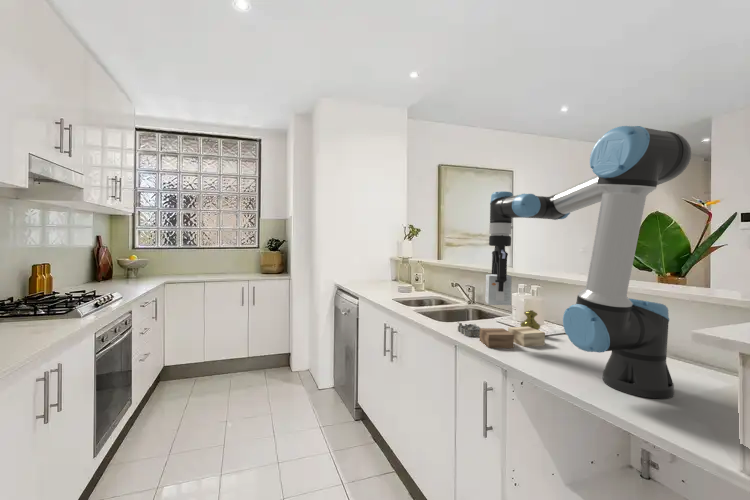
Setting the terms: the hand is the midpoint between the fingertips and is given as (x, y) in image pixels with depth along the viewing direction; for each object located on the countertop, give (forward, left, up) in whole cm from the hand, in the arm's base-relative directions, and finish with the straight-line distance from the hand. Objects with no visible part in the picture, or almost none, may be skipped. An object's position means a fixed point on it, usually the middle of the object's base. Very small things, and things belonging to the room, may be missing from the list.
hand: (497, 298), depth 130 cm
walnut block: (0, 0, -17) cm, 17 cm away
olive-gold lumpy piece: (+17, -17, -17) cm, 29 cm away
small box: (0, 0, -2) cm, 2 cm away
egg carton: (+14, +8, -17) cm, 24 cm away
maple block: (+5, -12, -17) cm, 21 cm away
